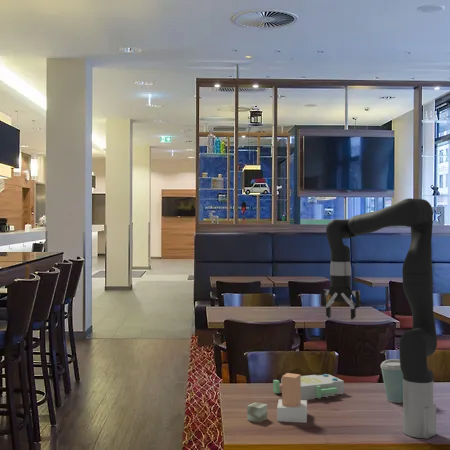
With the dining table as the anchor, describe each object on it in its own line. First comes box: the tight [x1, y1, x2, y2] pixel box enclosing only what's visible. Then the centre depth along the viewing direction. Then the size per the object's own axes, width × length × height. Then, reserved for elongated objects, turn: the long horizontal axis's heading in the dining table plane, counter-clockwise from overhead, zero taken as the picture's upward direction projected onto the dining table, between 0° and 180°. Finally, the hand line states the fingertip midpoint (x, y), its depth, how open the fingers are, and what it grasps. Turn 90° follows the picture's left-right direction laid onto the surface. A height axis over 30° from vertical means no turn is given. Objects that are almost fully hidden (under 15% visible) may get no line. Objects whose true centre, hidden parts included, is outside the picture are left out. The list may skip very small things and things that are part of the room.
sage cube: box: [246, 401, 268, 423], centre depth 199 cm, size 5×5×5 cm
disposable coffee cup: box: [380, 358, 403, 404], centre depth 221 cm, size 11×11×15 cm
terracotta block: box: [281, 372, 302, 407], centre depth 201 cm, size 5×5×10 cm
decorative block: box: [272, 373, 345, 401], centre depth 231 cm, size 26×6×20 cm
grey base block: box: [276, 398, 308, 424], centre depth 202 cm, size 10×10×5 cm
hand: (340, 318), depth 211 cm, fingers open, 8 cm apart
